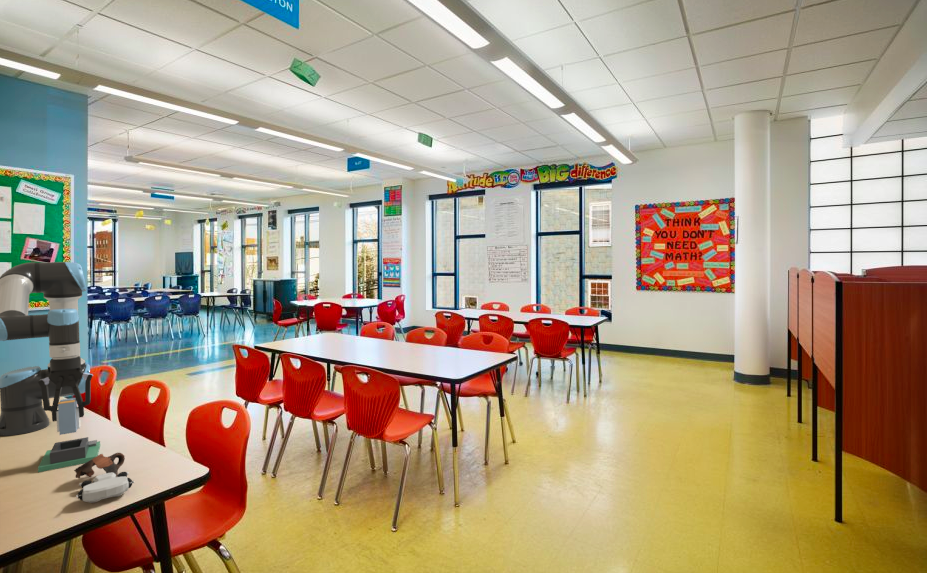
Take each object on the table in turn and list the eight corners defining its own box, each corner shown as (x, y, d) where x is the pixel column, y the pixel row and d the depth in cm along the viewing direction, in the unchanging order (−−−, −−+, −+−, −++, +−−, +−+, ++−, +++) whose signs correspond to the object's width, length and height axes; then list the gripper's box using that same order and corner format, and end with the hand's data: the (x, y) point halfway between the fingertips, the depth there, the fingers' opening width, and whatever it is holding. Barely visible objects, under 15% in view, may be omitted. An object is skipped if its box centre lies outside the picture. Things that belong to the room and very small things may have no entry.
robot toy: (77, 494, 130) (76, 512, 118) (76, 478, 130) (75, 494, 118) (131, 480, 138) (135, 496, 126) (130, 465, 138) (134, 479, 126)
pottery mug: (94, 491, 131) (77, 467, 130) (81, 498, 135) (65, 475, 134) (137, 463, 141) (121, 441, 140) (123, 471, 146) (108, 449, 145)
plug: (62, 429, 151) (60, 399, 151) (78, 427, 154) (76, 397, 153) (59, 434, 146) (57, 403, 146) (76, 432, 149) (74, 401, 148)
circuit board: (47, 454, 155) (46, 440, 155) (100, 445, 163) (99, 431, 163) (38, 472, 142) (37, 456, 142) (96, 460, 150) (95, 445, 149)
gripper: (26, 362, 141) (31, 438, 142) (98, 355, 151) (101, 426, 152) (31, 358, 147) (35, 431, 148) (99, 352, 157) (103, 420, 158)
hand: (69, 428), depth 150 cm, fingers closed on plug, 4 cm apart
